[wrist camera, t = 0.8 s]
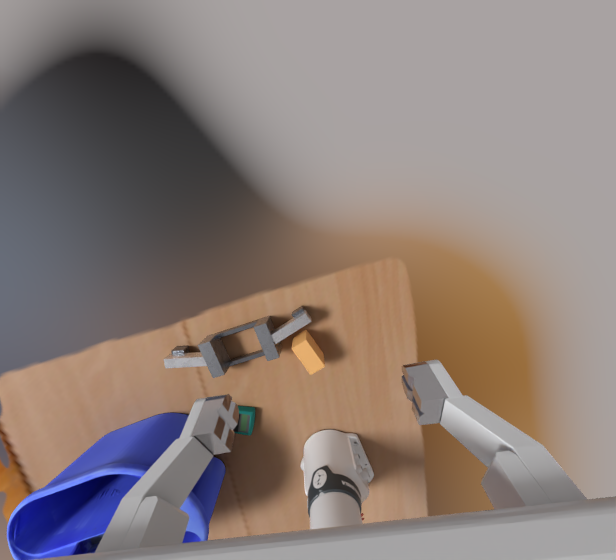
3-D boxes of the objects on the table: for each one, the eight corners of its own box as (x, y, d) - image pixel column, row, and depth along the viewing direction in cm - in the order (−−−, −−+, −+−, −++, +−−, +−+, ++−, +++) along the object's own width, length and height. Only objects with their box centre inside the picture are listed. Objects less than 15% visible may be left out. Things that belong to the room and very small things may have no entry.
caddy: (62, 444, 62) (-84, 565, 39) (201, 389, 59) (131, 487, 36) (121, 523, 67) (23, 672, 44) (251, 477, 64) (219, 612, 41)
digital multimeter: (202, 399, 59) (197, 407, 57) (256, 405, 60) (253, 414, 57) (201, 421, 61) (196, 431, 58) (254, 428, 61) (251, 437, 58)
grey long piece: (307, 303, 54) (307, 309, 49) (318, 335, 55) (319, 344, 51) (172, 347, 56) (159, 357, 51) (186, 377, 58) (175, 389, 53)
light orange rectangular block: (323, 353, 56) (325, 366, 51) (310, 361, 57) (310, 375, 51) (306, 329, 55) (306, 339, 49) (293, 337, 56) (291, 348, 50)
